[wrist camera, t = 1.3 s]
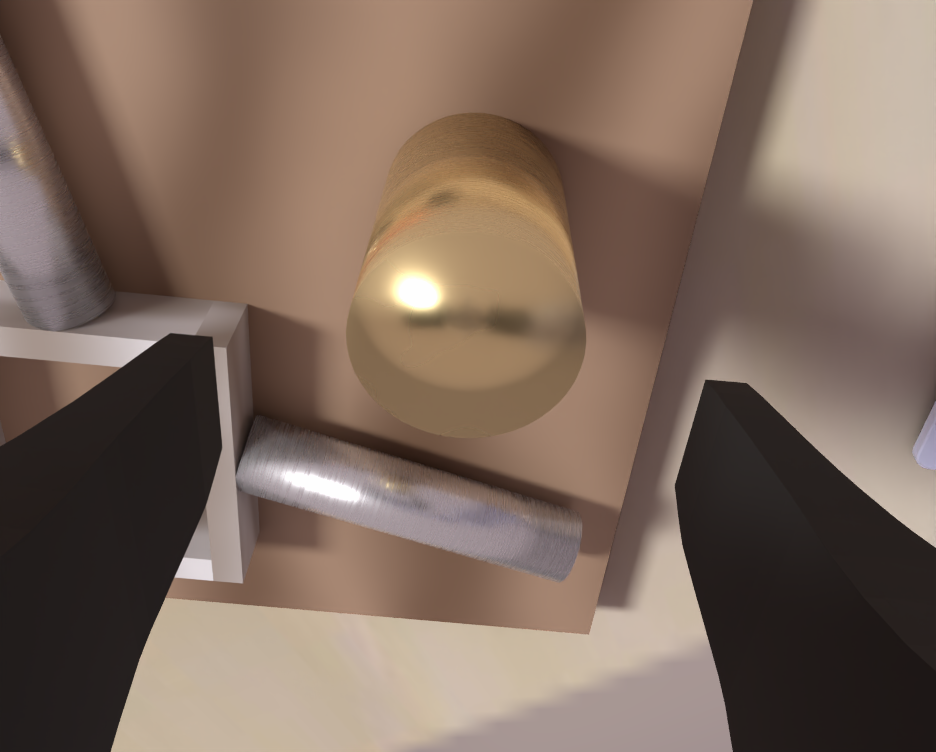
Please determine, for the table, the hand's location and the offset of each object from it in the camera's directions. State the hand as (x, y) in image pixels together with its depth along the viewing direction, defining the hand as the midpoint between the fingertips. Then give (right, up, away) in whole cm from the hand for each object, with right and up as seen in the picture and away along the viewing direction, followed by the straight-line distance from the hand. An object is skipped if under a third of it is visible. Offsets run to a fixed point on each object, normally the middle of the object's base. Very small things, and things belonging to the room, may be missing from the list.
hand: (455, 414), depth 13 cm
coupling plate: (-6, +3, +10) cm, 12 cm away
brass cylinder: (0, +5, +7) cm, 8 cm away
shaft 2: (-1, -2, +11) cm, 11 cm away
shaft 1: (-10, +6, +6) cm, 13 cm away
